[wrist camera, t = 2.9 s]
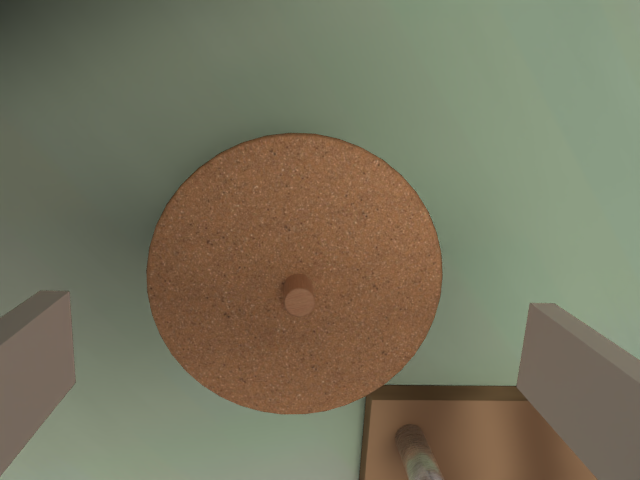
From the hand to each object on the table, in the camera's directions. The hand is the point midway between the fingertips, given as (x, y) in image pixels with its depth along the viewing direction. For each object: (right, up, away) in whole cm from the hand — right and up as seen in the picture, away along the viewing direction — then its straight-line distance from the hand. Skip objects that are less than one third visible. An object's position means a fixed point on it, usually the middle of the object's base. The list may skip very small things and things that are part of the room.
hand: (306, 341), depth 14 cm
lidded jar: (-1, +3, +11) cm, 12 cm away
